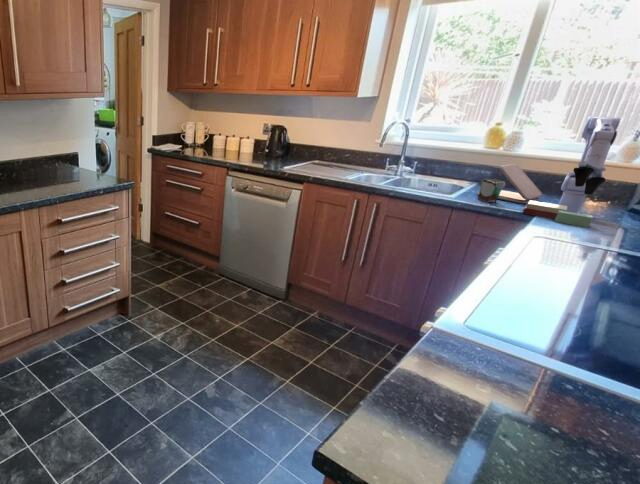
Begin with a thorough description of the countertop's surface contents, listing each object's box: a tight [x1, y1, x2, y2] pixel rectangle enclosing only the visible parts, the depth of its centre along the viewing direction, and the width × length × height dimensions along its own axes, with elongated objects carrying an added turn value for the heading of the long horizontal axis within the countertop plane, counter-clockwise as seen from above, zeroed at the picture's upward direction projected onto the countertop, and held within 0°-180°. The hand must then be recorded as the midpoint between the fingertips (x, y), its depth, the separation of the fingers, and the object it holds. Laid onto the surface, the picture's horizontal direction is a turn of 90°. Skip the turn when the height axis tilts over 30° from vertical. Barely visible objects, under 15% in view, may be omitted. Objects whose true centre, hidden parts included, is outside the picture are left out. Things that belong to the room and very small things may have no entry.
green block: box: [554, 210, 594, 228], centre depth 172 cm, size 5×10×4 cm, turn 44°
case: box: [476, 163, 543, 204], centre depth 211 cm, size 20×21×16 cm
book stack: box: [522, 200, 567, 220], centre depth 184 cm, size 11×13×4 cm
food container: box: [476, 177, 506, 204], centre depth 203 cm, size 12×6×10 cm, turn 168°
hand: (583, 190), depth 169 cm, fingers open, 7 cm apart
